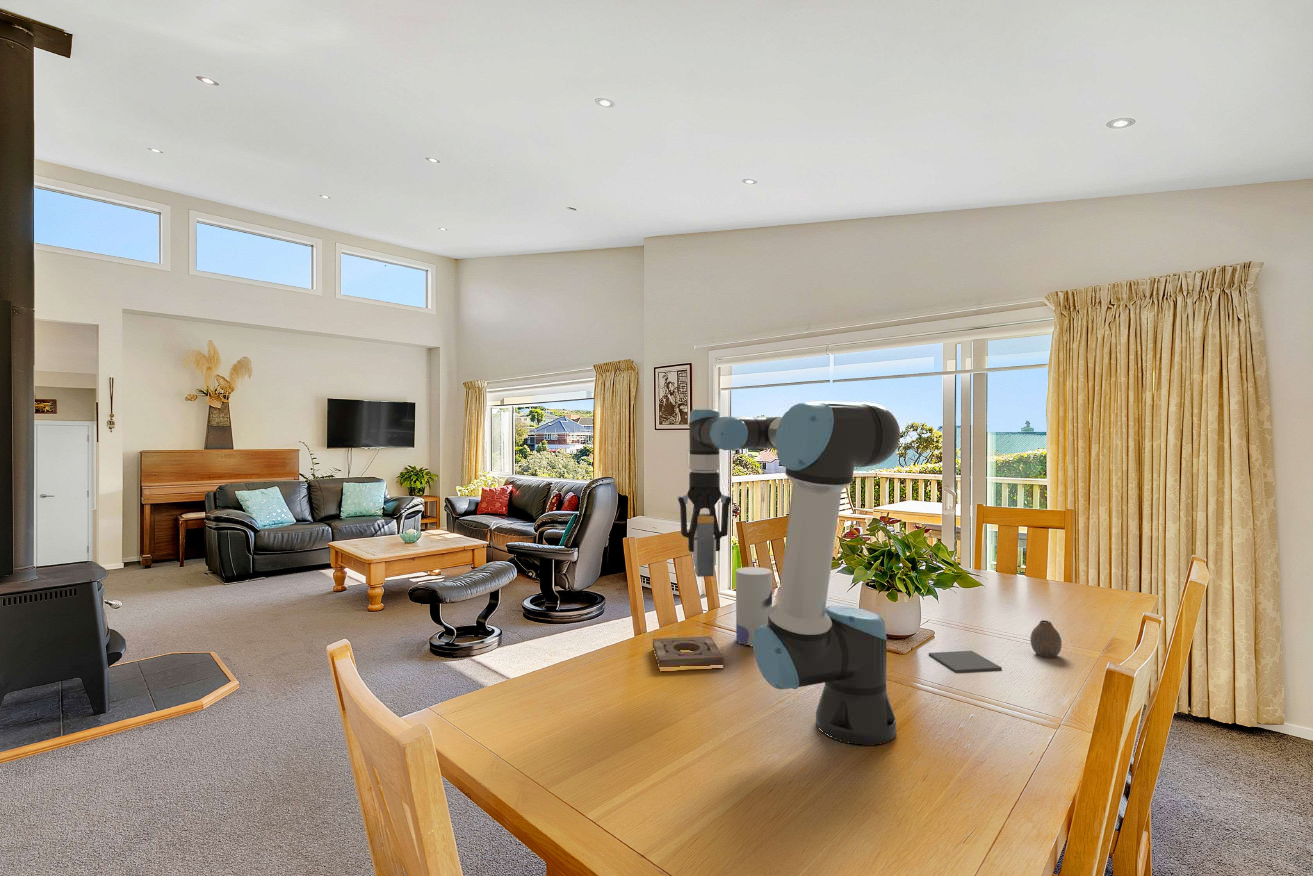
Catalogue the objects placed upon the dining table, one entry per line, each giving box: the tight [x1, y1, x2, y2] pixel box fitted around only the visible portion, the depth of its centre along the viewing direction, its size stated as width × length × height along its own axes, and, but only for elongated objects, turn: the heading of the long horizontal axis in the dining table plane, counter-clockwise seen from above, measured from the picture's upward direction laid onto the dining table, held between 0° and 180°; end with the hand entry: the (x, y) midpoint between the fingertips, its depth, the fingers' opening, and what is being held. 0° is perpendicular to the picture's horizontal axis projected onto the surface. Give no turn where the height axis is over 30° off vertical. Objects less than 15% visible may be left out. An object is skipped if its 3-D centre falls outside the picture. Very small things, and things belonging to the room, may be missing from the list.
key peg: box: [694, 513, 715, 578], centre depth 157 cm, size 4×4×15 cm
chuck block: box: [652, 635, 725, 667], centre depth 162 cm, size 16×16×3 cm
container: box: [735, 566, 773, 646], centre depth 176 cm, size 10×10×20 cm
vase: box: [1030, 619, 1063, 659], centre depth 163 cm, size 7×7×9 cm
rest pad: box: [928, 650, 1003, 673], centre depth 158 cm, size 12×12×1 cm
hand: (704, 564), depth 157 cm, fingers closed on key peg, 4 cm apart
